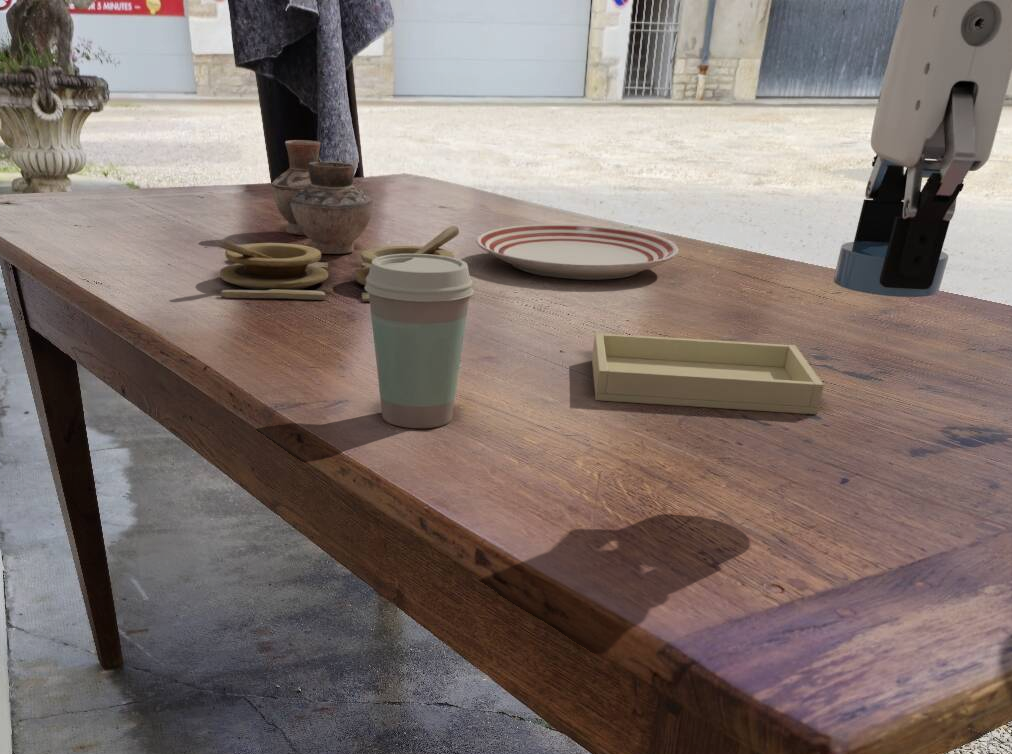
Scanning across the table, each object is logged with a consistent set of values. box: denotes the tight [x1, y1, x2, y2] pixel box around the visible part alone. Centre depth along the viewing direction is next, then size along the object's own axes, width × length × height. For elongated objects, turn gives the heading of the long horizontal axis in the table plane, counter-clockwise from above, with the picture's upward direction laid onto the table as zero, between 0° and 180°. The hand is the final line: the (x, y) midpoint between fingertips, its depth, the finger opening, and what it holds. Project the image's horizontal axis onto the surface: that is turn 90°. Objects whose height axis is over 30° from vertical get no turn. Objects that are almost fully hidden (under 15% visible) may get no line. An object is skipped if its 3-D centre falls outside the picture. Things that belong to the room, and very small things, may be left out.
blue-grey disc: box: [833, 241, 949, 298], centre depth 70 cm, size 7×7×2 cm
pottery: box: [270, 139, 374, 255], centre depth 148 cm, size 11×25×12 cm, turn 22°
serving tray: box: [591, 332, 825, 415], centre depth 97 cm, size 20×14×3 cm
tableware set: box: [218, 225, 460, 303], centre depth 127 cm, size 30×20×6 cm, turn 95°
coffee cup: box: [364, 254, 475, 430], centre depth 84 cm, size 8×8×12 cm
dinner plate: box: [476, 223, 679, 281], centre depth 143 cm, size 27×27×3 cm
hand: (888, 273), depth 70 cm, fingers closed on blue-grey disc, 6 cm apart
